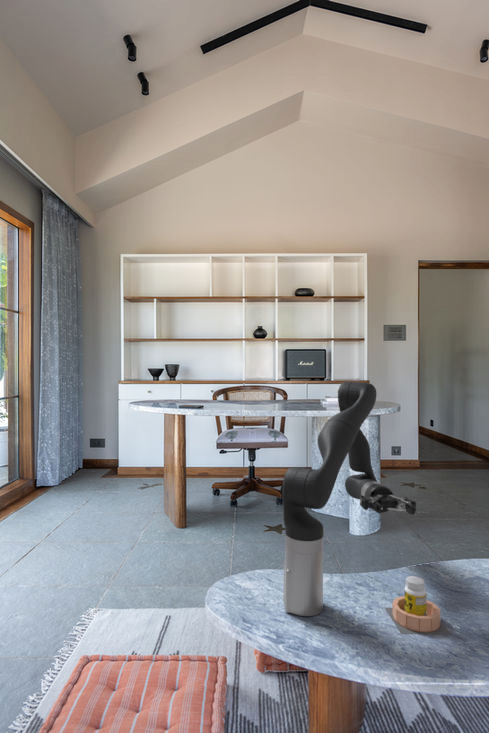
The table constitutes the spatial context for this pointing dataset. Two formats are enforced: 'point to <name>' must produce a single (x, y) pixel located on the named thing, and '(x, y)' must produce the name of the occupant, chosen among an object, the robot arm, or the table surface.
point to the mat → (406, 631)
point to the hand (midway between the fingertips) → (396, 510)
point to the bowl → (416, 617)
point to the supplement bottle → (415, 596)
